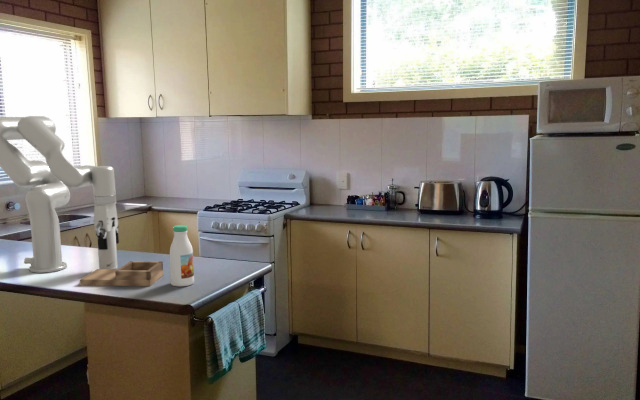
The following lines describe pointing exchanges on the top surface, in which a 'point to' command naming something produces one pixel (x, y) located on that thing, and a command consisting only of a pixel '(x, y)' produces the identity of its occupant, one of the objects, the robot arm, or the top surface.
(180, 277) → the milk bottle
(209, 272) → the top surface
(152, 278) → the open box
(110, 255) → the travel mug
